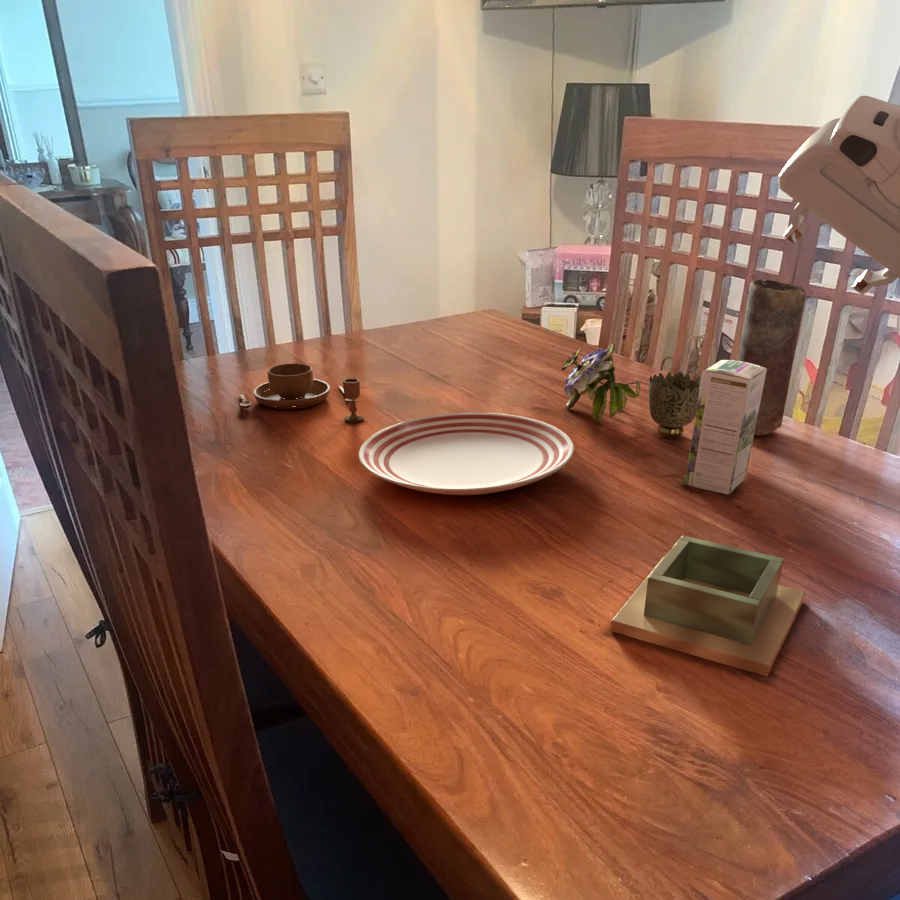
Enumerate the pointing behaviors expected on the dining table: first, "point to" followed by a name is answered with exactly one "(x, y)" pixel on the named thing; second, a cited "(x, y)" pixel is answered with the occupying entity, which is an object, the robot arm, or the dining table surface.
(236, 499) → the dining table surface
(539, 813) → the dining table surface
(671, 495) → the dining table surface
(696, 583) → the socket pad
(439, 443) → the dinner plate
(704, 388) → the syrup box
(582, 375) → the passion flower
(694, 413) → the cup
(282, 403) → the place setting
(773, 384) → the tall brown vase
